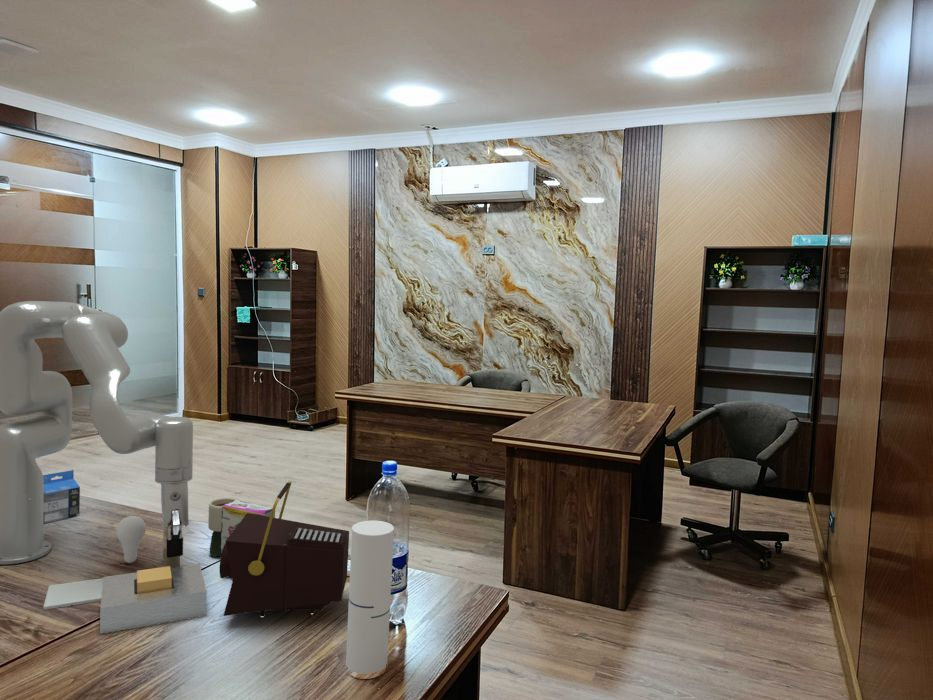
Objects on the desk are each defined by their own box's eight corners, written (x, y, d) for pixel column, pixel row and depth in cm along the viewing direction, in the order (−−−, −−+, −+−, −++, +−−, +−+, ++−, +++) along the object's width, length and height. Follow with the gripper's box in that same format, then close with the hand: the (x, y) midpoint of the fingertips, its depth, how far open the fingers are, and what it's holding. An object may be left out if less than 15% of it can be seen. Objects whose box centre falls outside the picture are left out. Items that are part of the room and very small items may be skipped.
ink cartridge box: (44, 524, 164) (44, 478, 163) (37, 520, 166) (37, 475, 165) (80, 516, 171) (80, 472, 170) (73, 512, 173) (73, 469, 172)
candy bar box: (218, 576, 139) (220, 505, 138) (233, 568, 144) (235, 499, 143) (259, 586, 136) (262, 513, 135) (273, 577, 140) (276, 506, 139)
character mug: (248, 556, 151) (250, 504, 150) (221, 564, 145) (222, 510, 144) (225, 543, 158) (226, 493, 157) (198, 551, 152) (199, 499, 151)
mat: (43, 610, 121) (43, 607, 121) (49, 588, 129) (49, 585, 129) (102, 600, 125) (102, 598, 125) (104, 580, 134) (104, 577, 134)
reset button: (137, 598, 119) (137, 583, 119) (136, 585, 125) (137, 570, 124) (171, 592, 122) (171, 578, 122) (169, 580, 127) (170, 566, 127)
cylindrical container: (347, 655, 111) (354, 520, 109) (387, 656, 112) (394, 521, 110) (343, 679, 104) (349, 534, 102) (386, 679, 104) (393, 535, 103)
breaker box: (100, 634, 113) (100, 608, 113) (102, 600, 125) (103, 577, 125) (205, 615, 122) (206, 591, 122) (198, 586, 134) (199, 563, 134)
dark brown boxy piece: (239, 589, 134) (243, 476, 132) (347, 591, 136) (352, 479, 134) (215, 629, 117) (219, 500, 116) (339, 630, 119) (344, 503, 118)
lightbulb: (150, 558, 146) (151, 513, 146) (134, 569, 140) (135, 522, 140) (126, 556, 147) (127, 511, 146) (109, 567, 141) (110, 519, 140)
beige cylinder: (162, 579, 136) (164, 526, 136) (162, 572, 139) (163, 521, 139) (180, 576, 138) (181, 524, 137) (179, 570, 141) (180, 519, 140)
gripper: (196, 481, 131) (195, 560, 132) (189, 462, 146) (188, 533, 148) (156, 485, 128) (156, 565, 129) (153, 465, 143) (153, 537, 144)
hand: (173, 548), depth 138 cm, fingers open, 9 cm apart
